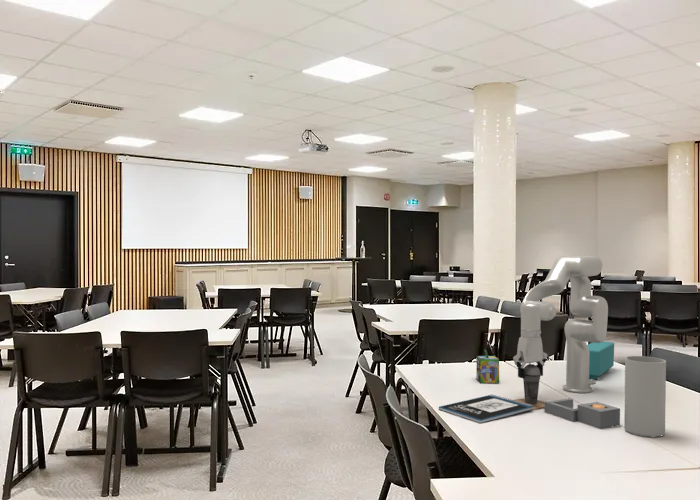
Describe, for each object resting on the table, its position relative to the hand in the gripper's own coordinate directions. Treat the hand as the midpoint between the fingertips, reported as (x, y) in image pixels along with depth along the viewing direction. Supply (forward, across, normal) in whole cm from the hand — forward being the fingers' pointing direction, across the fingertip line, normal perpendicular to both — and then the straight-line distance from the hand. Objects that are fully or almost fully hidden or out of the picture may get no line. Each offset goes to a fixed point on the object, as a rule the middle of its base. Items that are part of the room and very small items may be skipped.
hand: (530, 376), depth 236 cm
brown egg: (+9, -3, +30) cm, 32 cm away
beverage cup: (+11, 0, 0) cm, 11 cm away
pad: (+11, +1, 0) cm, 11 cm away
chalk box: (+12, -11, -40) cm, 43 cm away
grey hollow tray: (+11, -3, +23) cm, 26 cm away
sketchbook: (+11, +22, 0) cm, 25 cm away
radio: (+13, -72, -30) cm, 79 cm away
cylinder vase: (+11, -9, +44) cm, 47 cm away
